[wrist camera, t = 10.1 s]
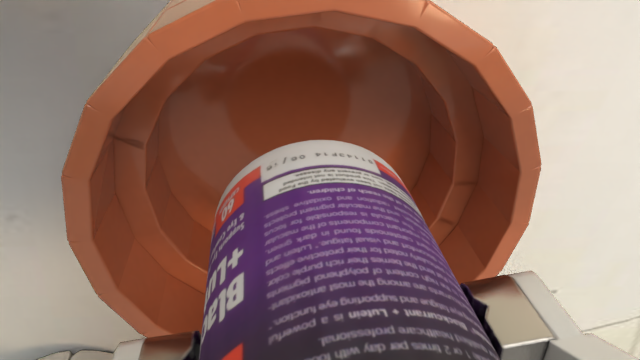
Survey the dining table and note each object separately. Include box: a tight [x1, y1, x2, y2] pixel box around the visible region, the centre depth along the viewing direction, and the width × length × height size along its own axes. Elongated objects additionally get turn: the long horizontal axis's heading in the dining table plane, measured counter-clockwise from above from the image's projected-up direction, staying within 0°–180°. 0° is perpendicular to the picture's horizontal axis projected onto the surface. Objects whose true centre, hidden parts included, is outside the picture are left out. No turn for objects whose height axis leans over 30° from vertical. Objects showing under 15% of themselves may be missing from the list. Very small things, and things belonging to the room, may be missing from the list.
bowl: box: [61, 0, 541, 338], centre depth 14 cm, size 12×12×5 cm
